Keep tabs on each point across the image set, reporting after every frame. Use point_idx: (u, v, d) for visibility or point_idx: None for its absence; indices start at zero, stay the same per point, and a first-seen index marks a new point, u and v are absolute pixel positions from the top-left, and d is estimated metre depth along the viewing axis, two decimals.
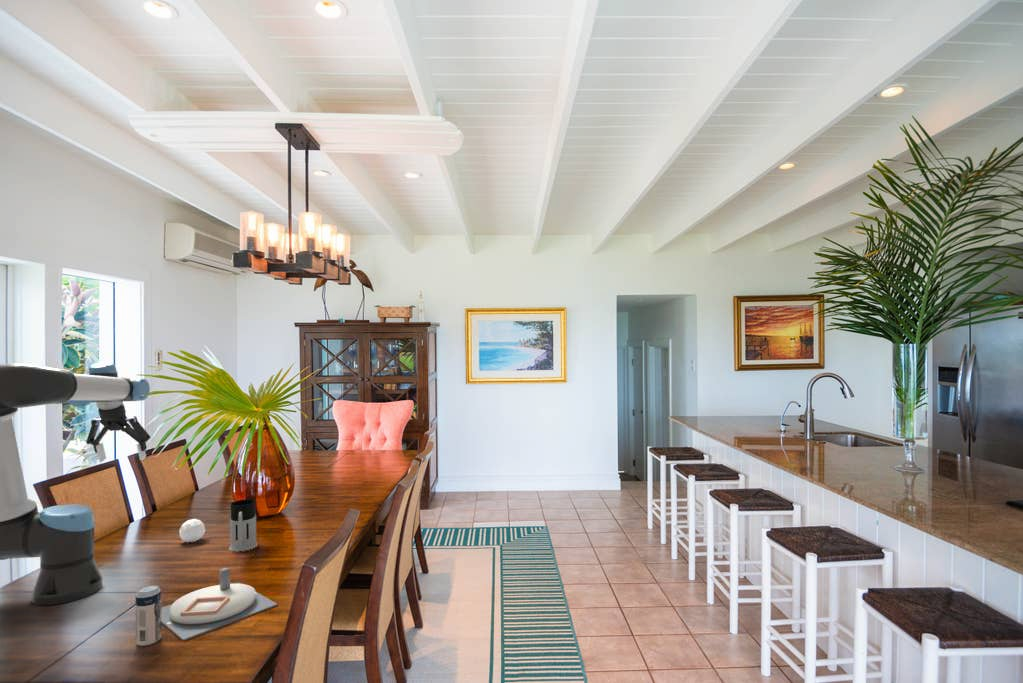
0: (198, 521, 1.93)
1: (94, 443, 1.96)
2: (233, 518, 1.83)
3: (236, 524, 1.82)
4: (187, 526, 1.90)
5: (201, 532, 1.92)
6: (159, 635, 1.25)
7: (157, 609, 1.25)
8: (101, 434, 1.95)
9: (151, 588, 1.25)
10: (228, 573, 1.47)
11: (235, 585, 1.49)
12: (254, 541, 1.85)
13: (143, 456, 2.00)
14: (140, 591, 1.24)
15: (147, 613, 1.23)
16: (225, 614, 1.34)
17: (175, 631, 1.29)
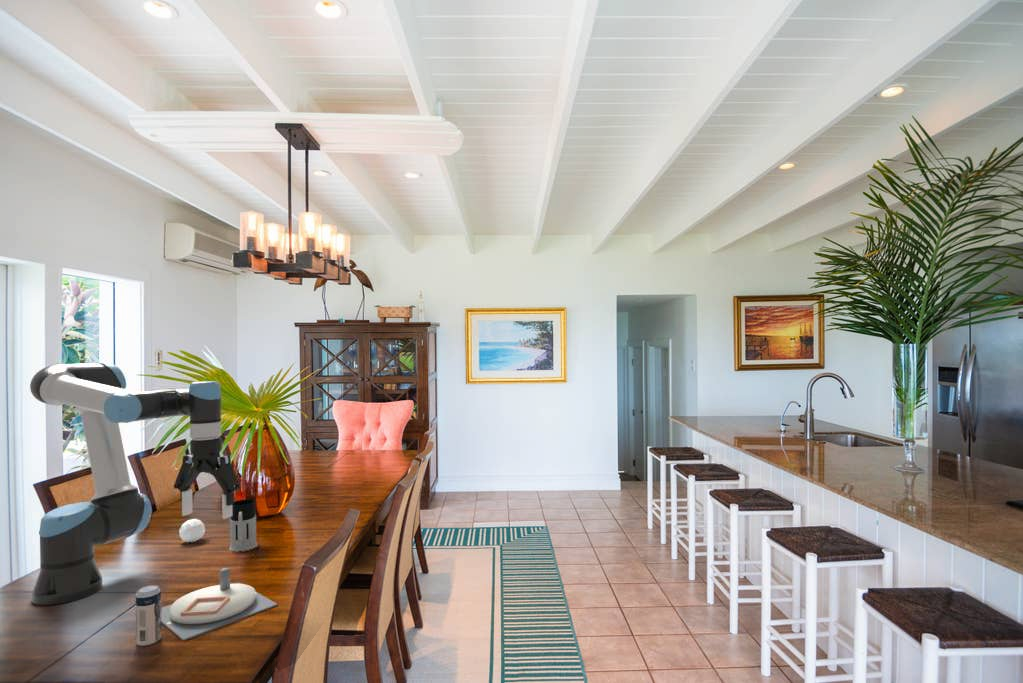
0: (198, 521, 1.93)
1: (181, 488, 1.52)
2: (233, 518, 1.83)
3: (236, 524, 1.82)
4: (187, 526, 1.90)
5: (201, 532, 1.92)
6: (159, 635, 1.25)
7: (157, 609, 1.25)
8: (189, 476, 1.51)
9: (151, 588, 1.25)
10: (228, 573, 1.47)
11: (235, 585, 1.49)
12: (254, 541, 1.85)
13: (228, 514, 1.49)
14: (140, 591, 1.24)
15: (147, 613, 1.23)
16: (225, 614, 1.34)
17: (175, 631, 1.29)
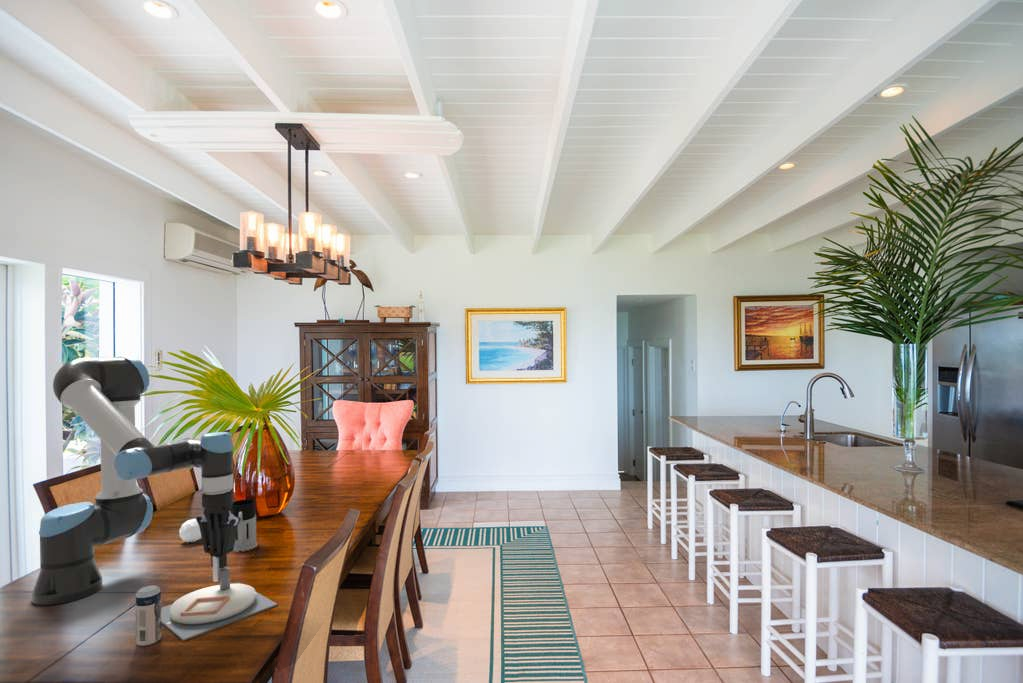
0: None
1: (211, 552, 1.47)
2: None
3: None
4: (187, 526, 1.90)
5: None
6: (159, 635, 1.25)
7: (157, 609, 1.25)
8: (211, 535, 1.47)
9: (151, 588, 1.25)
10: (228, 573, 1.47)
11: (235, 585, 1.49)
12: (254, 541, 1.85)
13: None
14: (140, 591, 1.24)
15: (147, 612, 1.23)
16: (225, 614, 1.34)
17: (175, 631, 1.29)
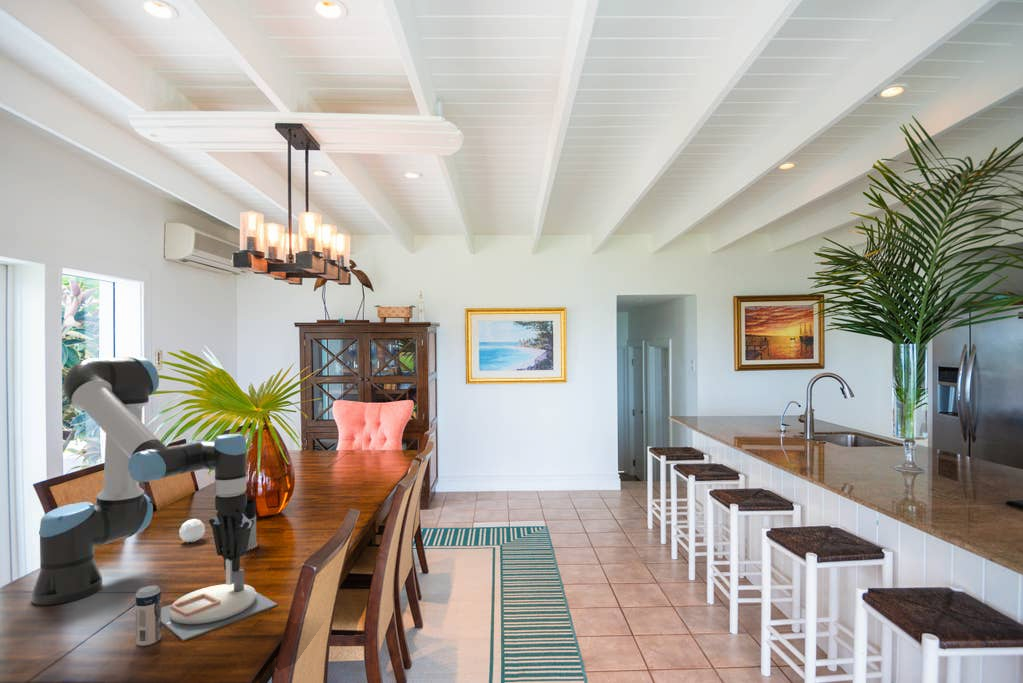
0: (198, 521, 1.93)
1: (224, 555, 1.46)
2: None
3: None
4: (187, 526, 1.90)
5: (201, 532, 1.92)
6: (159, 635, 1.25)
7: (157, 609, 1.25)
8: (224, 538, 1.46)
9: (151, 588, 1.25)
10: (239, 575, 1.45)
11: (248, 589, 1.46)
12: (254, 541, 1.85)
13: (233, 579, 1.46)
14: (140, 591, 1.24)
15: (147, 612, 1.23)
16: (195, 620, 1.31)
17: (175, 631, 1.29)
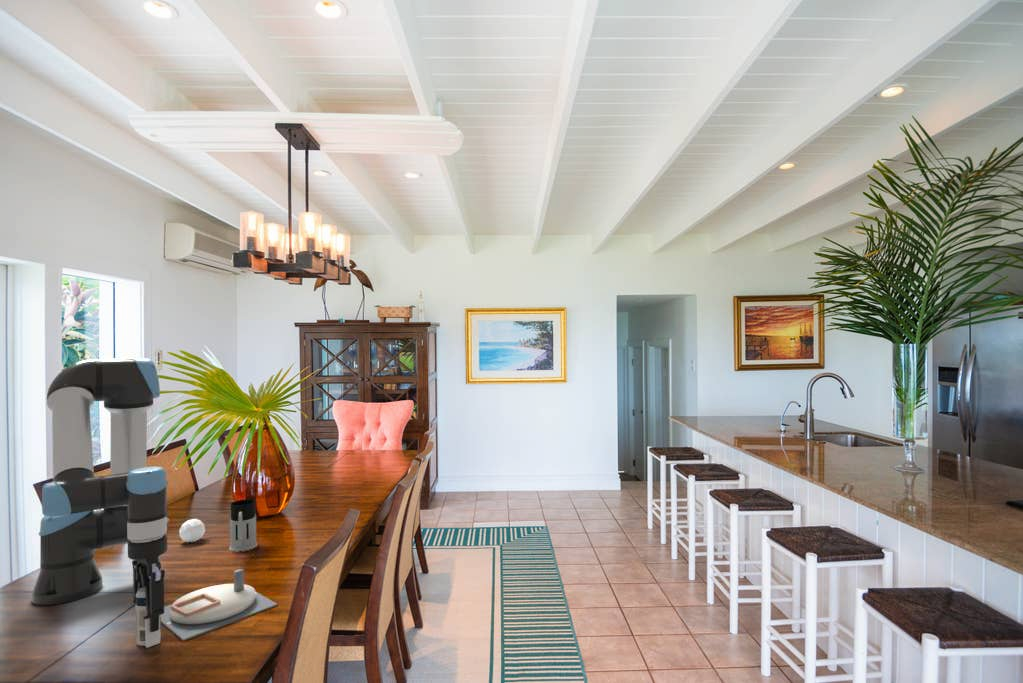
0: (198, 521, 1.93)
1: None
2: (233, 518, 1.83)
3: (236, 524, 1.82)
4: (187, 526, 1.90)
5: (201, 532, 1.92)
6: None
7: None
8: (138, 587, 1.26)
9: None
10: (239, 575, 1.45)
11: (248, 589, 1.46)
12: (254, 541, 1.85)
13: (152, 641, 1.23)
14: (140, 591, 1.24)
15: None
16: (195, 620, 1.31)
17: (175, 631, 1.29)
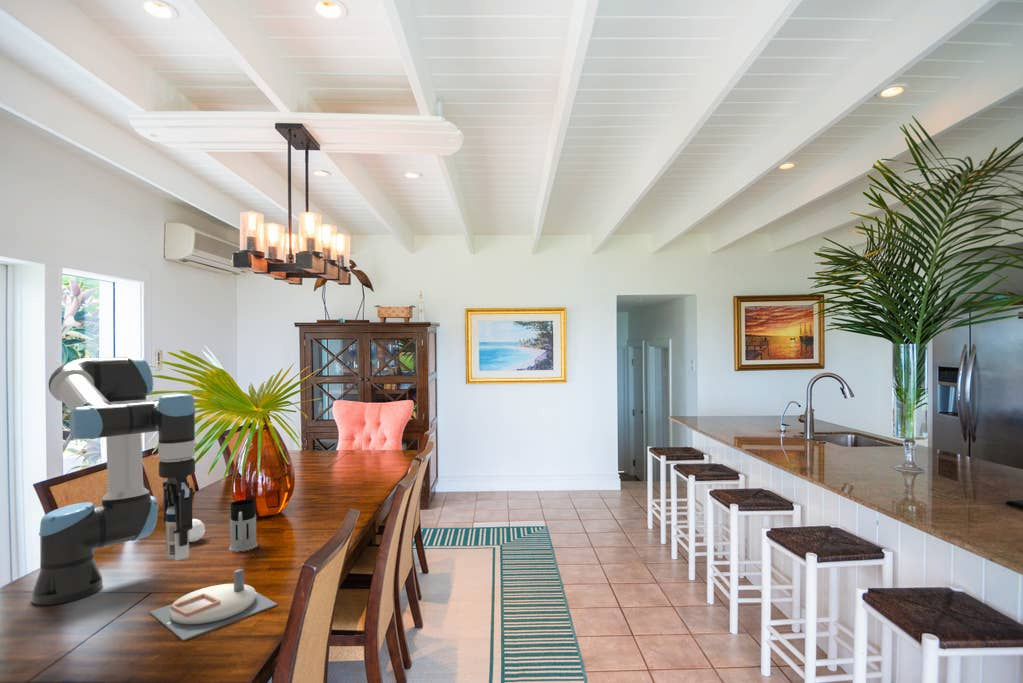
0: (198, 521, 1.93)
1: None
2: (233, 518, 1.83)
3: (236, 524, 1.82)
4: None
5: (201, 532, 1.92)
6: None
7: None
8: (168, 505, 1.34)
9: None
10: (239, 575, 1.45)
11: (248, 589, 1.46)
12: (254, 541, 1.85)
13: (181, 555, 1.31)
14: (170, 508, 1.32)
15: None
16: (195, 620, 1.31)
17: (175, 631, 1.29)
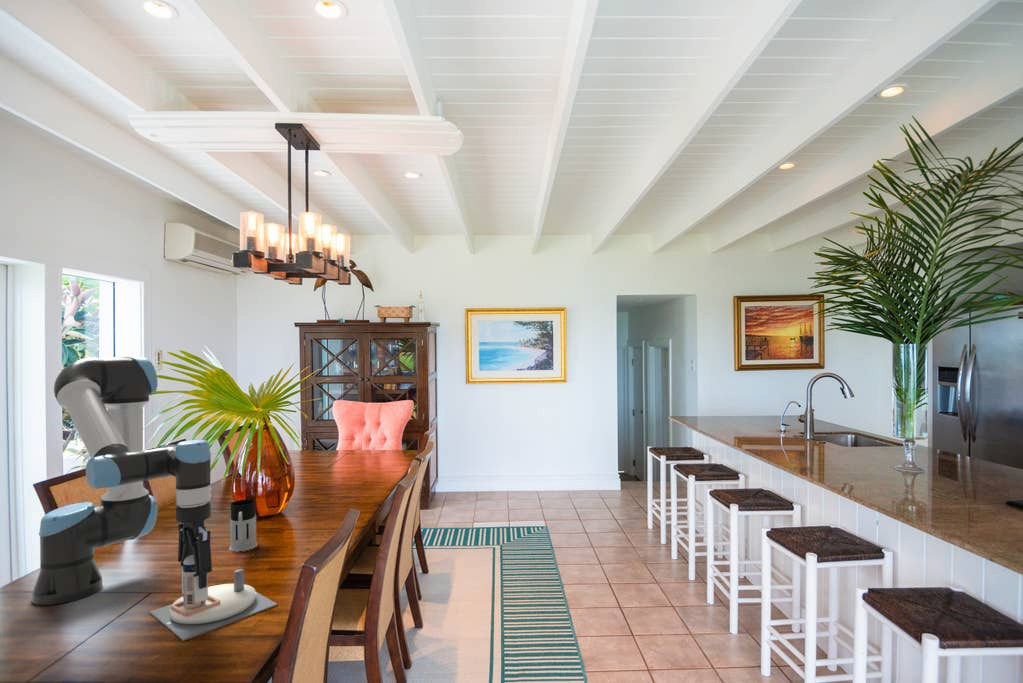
0: None
1: (181, 563, 1.39)
2: (233, 518, 1.83)
3: (236, 524, 1.82)
4: None
5: None
6: None
7: None
8: (184, 547, 1.38)
9: None
10: (239, 575, 1.45)
11: (248, 589, 1.46)
12: (254, 541, 1.85)
13: (201, 597, 1.34)
14: (187, 559, 1.36)
15: None
16: (195, 620, 1.31)
17: (175, 631, 1.29)
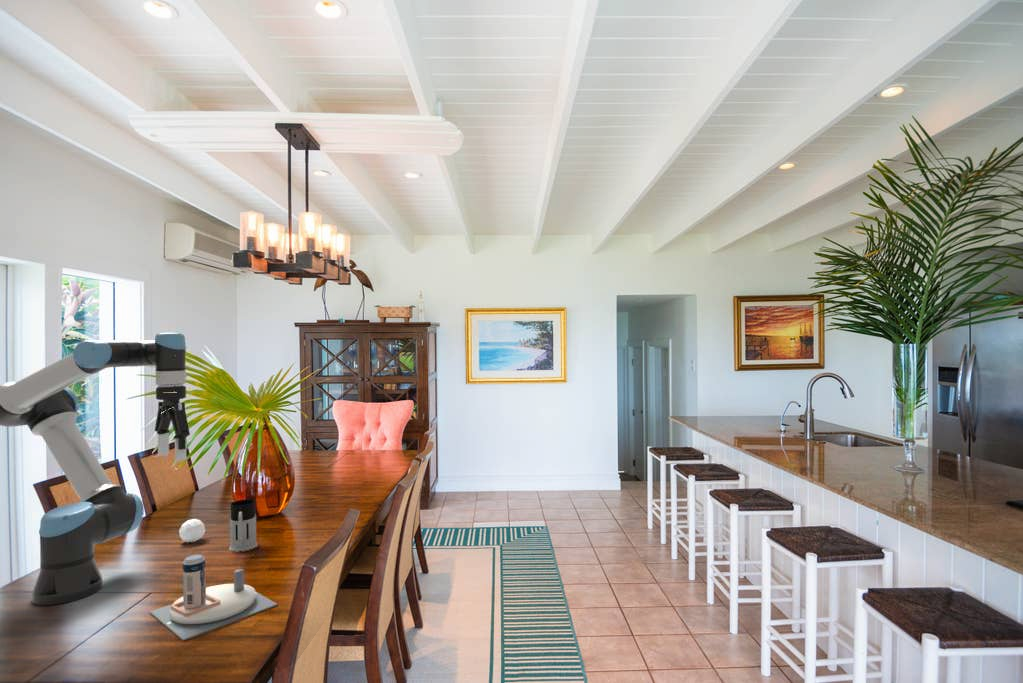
0: (198, 521, 1.93)
1: (157, 431, 1.66)
2: (233, 518, 1.83)
3: (236, 524, 1.82)
4: (187, 526, 1.90)
5: (201, 532, 1.92)
6: (204, 599, 1.37)
7: (202, 576, 1.37)
8: (161, 420, 1.64)
9: (196, 557, 1.38)
10: (239, 575, 1.45)
11: (248, 589, 1.46)
12: (254, 541, 1.85)
13: (180, 457, 1.57)
14: (187, 559, 1.36)
15: (194, 578, 1.35)
16: (195, 620, 1.31)
17: (175, 631, 1.29)
